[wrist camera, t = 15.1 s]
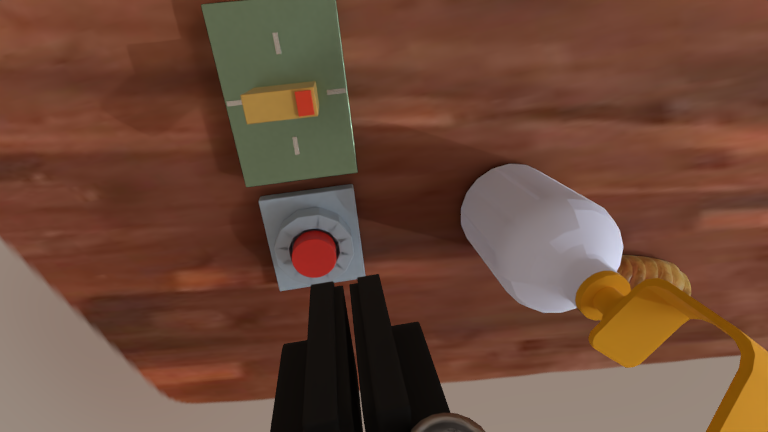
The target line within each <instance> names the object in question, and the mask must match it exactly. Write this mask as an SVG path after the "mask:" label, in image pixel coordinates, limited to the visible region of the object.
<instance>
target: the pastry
mask: <svg viewBox="0 0 768 432" xmlns="http://www.w3.org/2000/svg"><path fill="white" fill-rule="evenodd" d="M617 272H618V273H619V274H620V275H622V276H623V277H624V278H625V279H626V280H627V281H628V282H629V284H630V288H631V290H632V289H633V288H634V287H635V286H636V285H638V284H639V283H641V282H643V281H644V280H646V279H652V278H660V279H663V280H666V281H669V282H670V283H672V284H673V285H674V286H676V287H677V288H679V289H680V290H682V291H683V292H685V293H686V294H688V295H689V296H690V295H691V286H690V282H689V280H688V278H687V276H686V275H685V274H684V273H682V272H681V271H680V270H679V268H678V267H677V266H676V265H675V264H673V263H670V262H667V261H663V260H660V259H655V258H650V257H644V256H633V255H622V258H621V263H620V266H619V268H618V270H617Z"/></svg>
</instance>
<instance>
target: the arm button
mask: <svg viewBox="0 0 768 432" xmlns="http://www.w3.org/2000/svg"><path fill="white" fill-rule="evenodd" d="M336 258H337V257H336V245H335V242H334V240H333V239H332V238H331V237H330V236H329V235H328V234H326V233H324V232H322V231H317V230H312V231H307V232H305V233H303V234H301V235H300V236H299V237H298V238H297V239H296V241H295V243H294V246H293V252H292V264H293V266H294V268H295V269H296V270H297V271H298V272H299V273H300V274H302V275H303V276H306V277H310V278H318V277H322V276H324V275H326V274H328V273H329V272H330V271H331V270H332V269H333V268H334V266H335V264H336Z"/></svg>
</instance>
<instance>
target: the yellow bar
mask: <svg viewBox="0 0 768 432" xmlns="http://www.w3.org/2000/svg"><path fill="white" fill-rule="evenodd" d="M240 97H241V101H242V105H243V110H244V114H245V118H246V123H247V124H255V123H264V122H272V121H281V120H289V119H298V118H306V117H315V116H318V112H319V100H318V94H317V87H316V82H315V81H312V82H302V83H293V84H284V85H275V86H266V87H257V88H253V89H251V90H249V91H247V92H245V93H244V94H242V95H240Z"/></svg>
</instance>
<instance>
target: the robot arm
mask: <svg viewBox="0 0 768 432" xmlns="http://www.w3.org/2000/svg"><path fill="white" fill-rule="evenodd" d="M357 279H358V283H356V284H350V295H351V305H352V314H353V324H354V334H355V344H356V354H357V363H358V373H359V383H360V393H361V402H362V411H363V418H364V424H365V431H366V432H485V431H484V430H483V428H482V427H481V426H480V425H478V424H477V423H476V422H474V421H473V420H471V419H470V418H467V417H464V416H462V415H459V414H454V413H450V410H449V408H448V405H447V402H446V399H445V396H444V393H443V390H442V387H441V384H440V381H439V378H438V375H437V373H436V370H435V367H434V364H433V361H432V358H431V355H430V352H429V349H428V346H427V343H426V341H425V338H424V335H423V332H422V329H421V326H420V324H419V322H413V323H407V324H401V325H395V326H391V323H390V319H389V315H388V311H387V307H386V302H385V298H384V294H383V290H382V286H381V281H380V277H379V274H376V275H369V276H363V277H357ZM270 432H363V428H362V417H361V407H360V397H359V387H358V378H357V370H356V364H355V358H354V352H353V345H352V339H351V333H350V327H349V321H348V315H347V308H346V302H345V296H344V290H343V286H337V287H335V286H334V282H333V281H331V282H324V283H318V284H312V285H311V290H310V306H309V322H308V339H307V340H305V341H299V342H293V343H287V344H284V345H283V348H282V354H281V361H280V368H279V374H278V381H277V388H276V395H275V402H274V410H273V416H272V423H271V430H270Z"/></svg>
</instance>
